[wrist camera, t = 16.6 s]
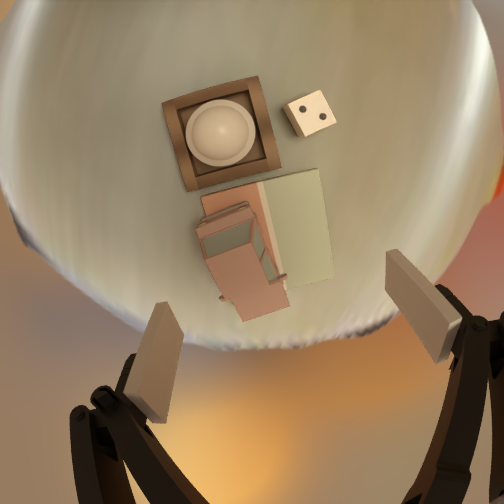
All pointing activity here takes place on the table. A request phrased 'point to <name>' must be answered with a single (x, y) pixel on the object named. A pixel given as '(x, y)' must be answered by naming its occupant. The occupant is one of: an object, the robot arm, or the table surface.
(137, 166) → the table surface
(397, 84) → the table surface
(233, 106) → the dome
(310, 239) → the board
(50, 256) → the table surface
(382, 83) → the table surface
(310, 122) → the die
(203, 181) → the dome housing
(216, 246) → the toy car
